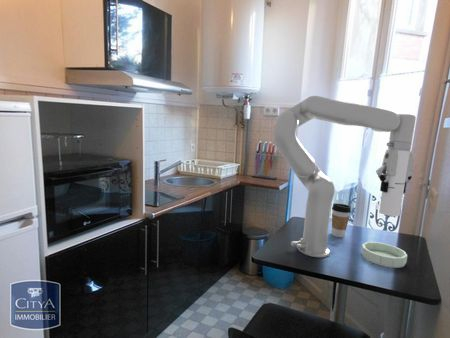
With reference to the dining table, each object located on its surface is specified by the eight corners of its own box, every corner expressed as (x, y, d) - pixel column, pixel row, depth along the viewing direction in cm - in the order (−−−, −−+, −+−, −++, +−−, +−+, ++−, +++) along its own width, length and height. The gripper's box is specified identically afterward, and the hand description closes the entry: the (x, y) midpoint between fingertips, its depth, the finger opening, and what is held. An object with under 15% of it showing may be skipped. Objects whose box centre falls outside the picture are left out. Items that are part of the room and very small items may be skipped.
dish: (378, 268, 112) (380, 258, 111) (353, 250, 127) (354, 242, 126) (414, 267, 115) (416, 257, 114) (386, 250, 130) (387, 241, 129)
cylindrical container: (402, 217, 114) (413, 151, 110) (382, 215, 115) (392, 150, 112) (395, 212, 121) (405, 150, 117) (376, 210, 122) (385, 148, 119)
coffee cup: (325, 232, 148) (328, 202, 146) (339, 231, 150) (343, 202, 148) (336, 238, 140) (340, 207, 138) (351, 237, 143) (355, 207, 140)
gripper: (386, 145, 109) (379, 193, 111) (427, 148, 112) (419, 194, 115) (372, 144, 116) (366, 189, 119) (411, 146, 120) (404, 190, 122)
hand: (392, 191), depth 117 cm, fingers closed on cylindrical container, 7 cm apart
